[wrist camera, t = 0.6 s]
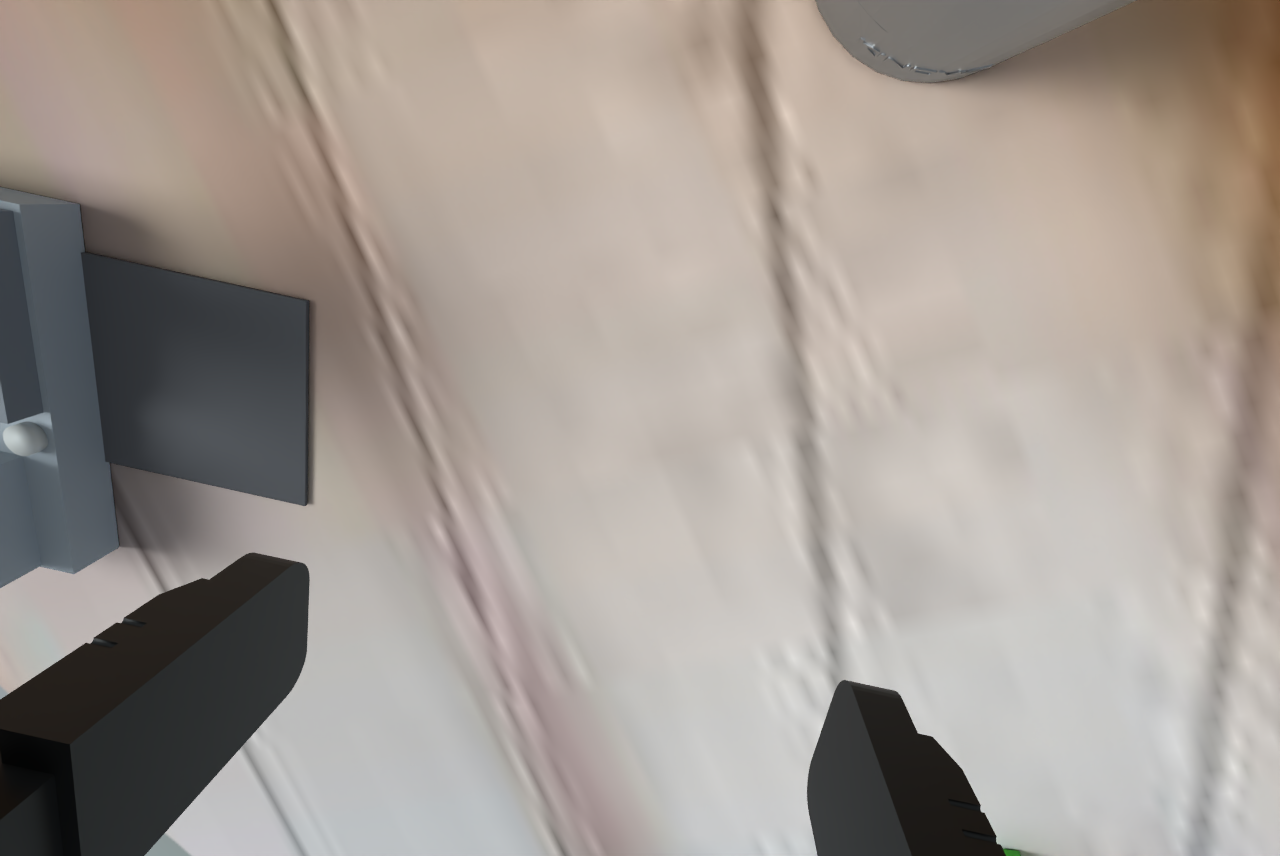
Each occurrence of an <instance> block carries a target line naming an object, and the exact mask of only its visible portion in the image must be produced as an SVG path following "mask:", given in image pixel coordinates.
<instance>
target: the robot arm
mask: <svg viewBox="0 0 1280 856" xmlns="http://www.w3.org/2000/svg"><path fill="white" fill-rule="evenodd" d="M815 1H816V4H817V7H818V10H819V12H820V14H821V15H822V17H823V19H824V21H825V22H826V24H827V26H828V28H829V29H830V31H831V33H832V35H833V36H834V37H835V38H836V39H837V40H838V42H839V43H840V44H841V45H842V46H843V47H844V48H845V49H846V50H847V51H848V52H849V53H850V54H851V55H852V57H854V58H855V59H857V60H859V61H860V62H862V63H863V64H865V65H866V66H868V67H869V68H871V69H872V70H874V71H876V72H878V73H881V74H884V75H887V76H890V77H893V78H896V79H899V80H902V81H914V82H926V83H933V82H939V81H946V80H953V79H960V78H962V77H965V76H968V75H970V74H973V73H976V72H978V71H981V70H984V69H988V68H990V67H992V66H994V65H996V64H998V63H1000V62H1002V61H1004V60H1007V59H1009V58H1011V57H1013V56H1015V55H1018V54H1020V53H1022V52H1024V51H1026V50H1029V49H1031V48H1033V47H1036V46H1038V45H1040V44H1043V43H1045V42H1047V41H1049V40H1052V39H1054V38H1056V37H1058V36H1060V35H1063V34H1065V33H1067V32H1069V31H1071V30H1073V29H1076V28H1078V27H1080V26H1082V25H1084V24H1087V23H1089V22H1091V21H1093V20H1095V19H1097V18H1100V17H1102V16H1104V15H1106V14H1108V13H1111V12H1113V11H1115V10H1117V9H1119V8H1121V7H1124V6H1126V5H1128V4H1130V3H1132V2H1134V1H1137V0H815ZM308 605H309V571H308V568H307V566H306V565H305V564H303V563H300V562H295V561H290V560H286V559H281V558H276V557H272V556H267V555H262V554H258V553H249V554H246V555H244V556H243V557H241V558H240V559H238V560H237V561H235V562H234V563H233V564H231V565H230V566H228V567H227V568H225V569H224V570H223V571H221V572H220V573H218V574H217V575H215V576H214V577H212V578H211V579H210V580H207V579H203V578H202V579H199V580H196V581H194V582H191V583H188V584H186V585H183V586H181V587H178V588H175V589H173V590H170V591H167V592H165V593H162V594H159V595H158V596H156V597H155V598H153V599H152V600H150V601H149V602H147V603H146V604H144V605H143V606H141V607H140V608H138V609H137V610H135V611H134V612H132V613H131V614H129V615H127V616H126V617H124V620H123V622H122V623H115V624H114V625H112V626H111V627H109V628H108V629H106V630H105V631H103V632H102V633H100V634H99V635H97V636H96V637H94V640H93V642H92V643H91V644H88V643H85V644H84V645H82V646H81V647H79V648H78V649H76V650H75V651H73V652H72V653H70V654H69V655H67V656H65V657H64V658H62V659H61V660H59V661H58V662H56V663H55V664H53V665H52V666H50V667H49V668H47V669H46V670H44V671H43V672H41V673H40V674H38V675H37V676H35V677H34V678H32V679H31V680H29V681H28V682H26V683H25V684H23V685H22V686H20V687H19V688H17V689H16V690H14V691H13V692H11V693H10V694H8V695H7V696H5V697H3V698H2V699H0V856H144V855H145V854H146V853H147V852H148V851H149V850H150V849H151V847H152V846H153V845H154V844H155V843H156V842H157V841H158V840H159V839H160V837H161V836H162V835H163V834H164V833H165V832H166V831H167V830H168V829H169V827H170V826H171V825H172V824H173V823H174V822H175V821H176V820H177V818H178V817H179V816H180V815H181V814H182V813H183V812H184V811H185V809H186V808H187V807H188V806H189V805H190V804H191V803H192V802H193V801H194V799H195V798H196V797H197V796H198V795H199V794H200V793H201V792H202V790H203V789H204V788H205V787H206V786H207V785H208V784H209V783H210V782H211V780H212V779H213V778H214V777H215V776H216V775H217V774H218V773H219V771H220V770H221V769H222V768H223V767H224V766H225V765H226V764H227V762H228V761H229V760H230V759H231V758H232V757H233V756H234V755H235V754H236V752H237V751H238V750H239V749H240V748H241V747H242V746H243V745H244V743H245V742H246V741H247V740H248V739H249V738H250V737H251V736H252V735H253V733H254V732H255V731H256V730H257V729H258V728H259V727H260V726H261V724H262V723H263V722H264V721H265V720H266V719H267V718H268V717H269V715H270V714H271V713H272V712H273V711H274V710H275V709H276V708H277V707H278V705H279V704H280V703H281V702H282V701H283V700H284V699H285V698H286V696H287V695H288V694H289V693H290V691H291V690H292V688H293V687H294V685H295V683H296V682H297V680H298V678H299V676H300V673H301V671H302V668H303V665H304V662H305V658H306V652H307V632H308ZM807 800H808V810H809V815H810V820H811V825H812V830H813V835H814V840H815V845H816V850H817V855H818V856H1006V854H1005V852H1004V850H1003V848H1002V846H1001V845H999V844H997V843H996V835H995V833H994V831H993V829H992V827H991V825H990V823H989V821H988V819H987V817H986V815H985V813H982V812H981V811H980V806H981V805H980V803H979V801H978V799H977V797H976V796H975V794H974V792H973V790H972V788H971V786H970V784H969V782H968V780H967V778H966V776H965V774H964V772H963V770H962V769H961V768H960V767H959V765H958V764H957V763H956V762H955V761H954V760H953V759H952V758H951V757H950V756H949V754H948V753H947V752H946V751H945V750H944V749H943V748H942V747H941V746H940V745H939V743H938V742H937V741H936V740H935V739H934V738H933V737H931V736H927V735H922V734H918V733H917V730H916V728H915V726H914V724H913V722H912V719H911V717H910V715H909V713H908V711H907V709H906V706H905V704H904V702H903V700H902V698H901V696H900V695H899V694H898V692H896V691H893V690H889V689H884V688H879V687H874V686H870V685H865V684H860V683H856V682H851V681H846V680H843V681H841V682H840V683H839V684H838V686H837V688H836V690H835V693H834V695H833V698H832V701H831V704H830V707H829V710H828V713H827V716H826V719H825V722H824V725H823V728H822V731H821V734H820V737H819V740H818V743H817V746H816V748H815V751H814V754H813V757H812V761H811V764H810V769H809V775H808V785H807Z"/></svg>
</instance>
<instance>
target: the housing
mask: <svg viewBox="0 0 1280 856" xmlns="http://www.w3.org/2000/svg"><path fill="white" fill-rule="evenodd" d="M82 252H85V247H84V239H83V230H82V221H81V213H80V204H77V203H73V202H68V201H63V200H59V199H54V198H49V197H45V196H40V195H35V194H31V193H26V192H21V191H17V190H12V189H7V188H3V187H0V588H1V587H3V586H5V585H7V584H9V583H10V582H12V581H14V580H16V579H18V578H19V577H21V576H23V575H25V574H27V573H28V572H30V571H32V570H34V569H36V568H37V567H39V566H40V567H44V568H49V569H53V570H58V571H62V572H67V573H71V574H75V573H77V572H78V571H80V570H82V569H83V568H85V567H87V566H88V565H90V564H92V563H93V562H95V561H97V560H99V559H100V558H102V557H104V556H105V555H107V554H109V553H110V552H112V551H114V550H115V549H117V548H119V541H118V533H117V524H116V515H115V507H114V498H113V489H112V481H111V472H110V463H109V462H105V453H104V445H103V436H102V428H101V419H100V411H99V403H98V394H97V386H96V377H95V369H94V360H93V352H92V343H91V335H90V326H89V318H88V309H87V301H86V292H85V284H84V275H83V267H82V258H81V253H82Z"/></svg>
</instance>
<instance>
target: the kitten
mask: <svg viewBox="0 0 1280 856" xmlns="http://www.w3.org/2000/svg"><path fill="white" fill-rule="evenodd" d="M1003 850H1004V852H1005V854H1006V856H1021V855H1020V852H1019V851H1016V850H1006V849H1003Z"/></svg>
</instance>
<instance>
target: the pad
mask: <svg viewBox="0 0 1280 856" xmlns="http://www.w3.org/2000/svg"><path fill="white" fill-rule="evenodd" d="M81 258H82V267H83V275H84V284H85V292H86V301H87V309H88V318H89V326H90V335H91V343H92V352H93V360H94V369H95V377H96V386H97V394H98V403H99V411H100V419H101V428H102V436H103V445H104V453H105V462H109V463H114V464H118V465H123V466H127V467H132V468H136V469H141V470H145V471H150V472H154V473H159V474H163V475H168V476H172V477H177V478H181V479H186V480H190V481H194V482H199V483H203V484H208V485H212V486H217V487H221V488H226V489H230V490H235V491H239V492H244V493H248V494H253V495H257V496H262V497H266V498H271V499H275V500H280V501H284V502H289V503H293V504H298V505H302V506H306V505H307V490H308V366H309V301H308V300H304V299H299V298H295V297H290V296H285V295H281V294H276V293H271V292H267V291H262V290H258V289H253V288H248V287H244V286H239V285H234V284H230V283H225V282H221V281H216V280H211V279H207V278H202V277H197V276H193V275H188V274H184V273H179V272H174V271H170V270H165V269H160V268H156V267H151V266H147V265H142V264H137V263H133V262H128V261H123V260H119V259H114V258H110V257H105V256H100V255H96V254H91V253H86V252H82V253H81Z"/></svg>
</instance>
